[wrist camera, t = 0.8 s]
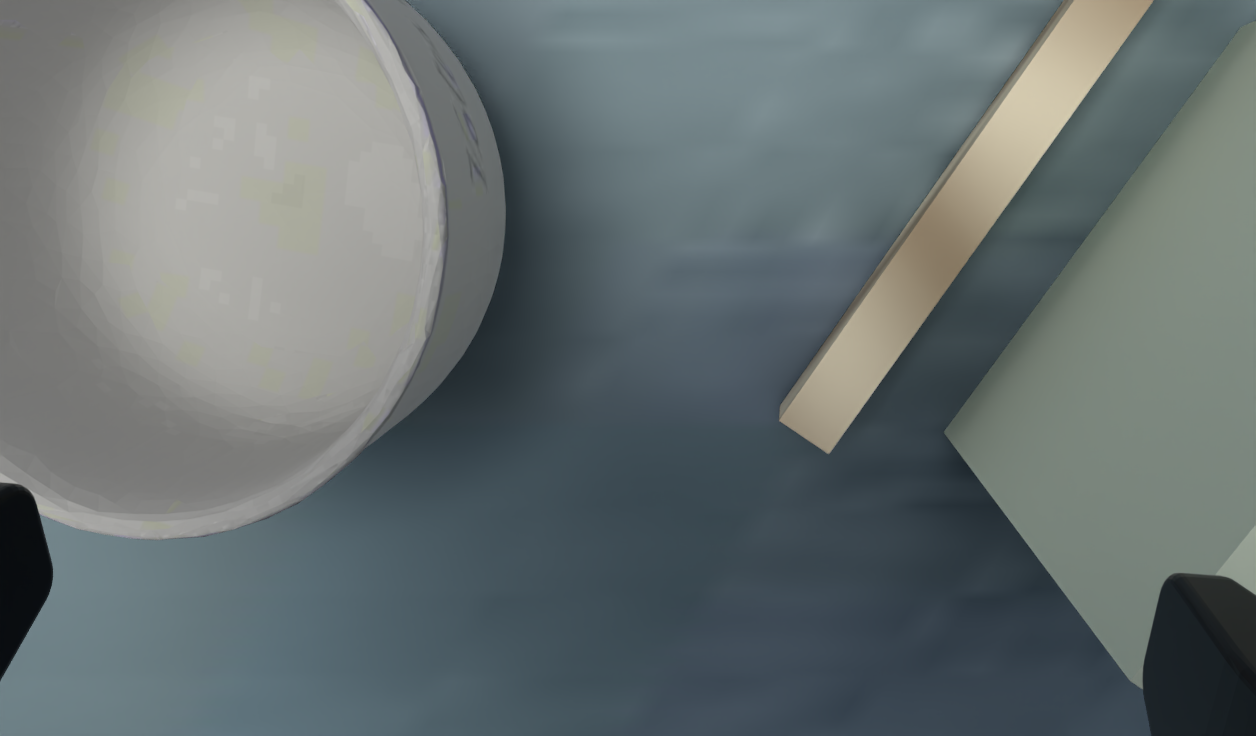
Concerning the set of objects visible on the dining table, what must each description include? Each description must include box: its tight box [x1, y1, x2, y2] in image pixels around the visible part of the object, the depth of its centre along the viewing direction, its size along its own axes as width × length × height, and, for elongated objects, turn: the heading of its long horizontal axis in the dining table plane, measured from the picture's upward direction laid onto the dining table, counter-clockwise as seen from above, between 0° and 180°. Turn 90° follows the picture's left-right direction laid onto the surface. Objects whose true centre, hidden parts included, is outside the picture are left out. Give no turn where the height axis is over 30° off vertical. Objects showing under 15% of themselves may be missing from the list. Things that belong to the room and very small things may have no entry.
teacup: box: [0, 0, 506, 540], centre depth 23 cm, size 14×11×8 cm
